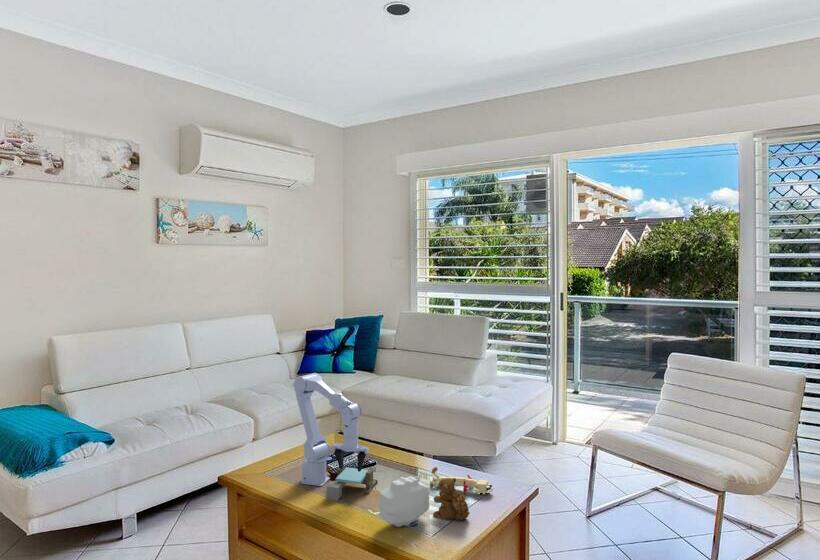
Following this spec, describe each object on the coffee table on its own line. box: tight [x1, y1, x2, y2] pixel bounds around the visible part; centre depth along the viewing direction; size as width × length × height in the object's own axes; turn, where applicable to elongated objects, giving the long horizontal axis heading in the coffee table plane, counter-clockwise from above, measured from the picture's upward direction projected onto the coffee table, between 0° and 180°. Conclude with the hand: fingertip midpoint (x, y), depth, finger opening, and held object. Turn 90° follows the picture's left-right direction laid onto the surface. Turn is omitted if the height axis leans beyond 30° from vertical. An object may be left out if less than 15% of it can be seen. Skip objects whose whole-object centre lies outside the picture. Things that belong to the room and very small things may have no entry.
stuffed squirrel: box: [432, 478, 471, 521], centre depth 185 cm, size 10×14×13 cm
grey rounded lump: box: [377, 473, 430, 528], centre depth 180 cm, size 11×18×16 cm, turn 127°
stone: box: [326, 481, 343, 501], centre depth 198 cm, size 4×4×5 cm
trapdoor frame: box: [336, 465, 378, 494], centre depth 209 cm, size 14×10×8 cm
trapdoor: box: [335, 467, 369, 485], centre depth 205 cm, size 10×11×4 cm
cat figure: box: [429, 466, 494, 495], centre depth 206 cm, size 10×9×25 cm
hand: (350, 469), depth 202 cm, fingers open, 7 cm apart
